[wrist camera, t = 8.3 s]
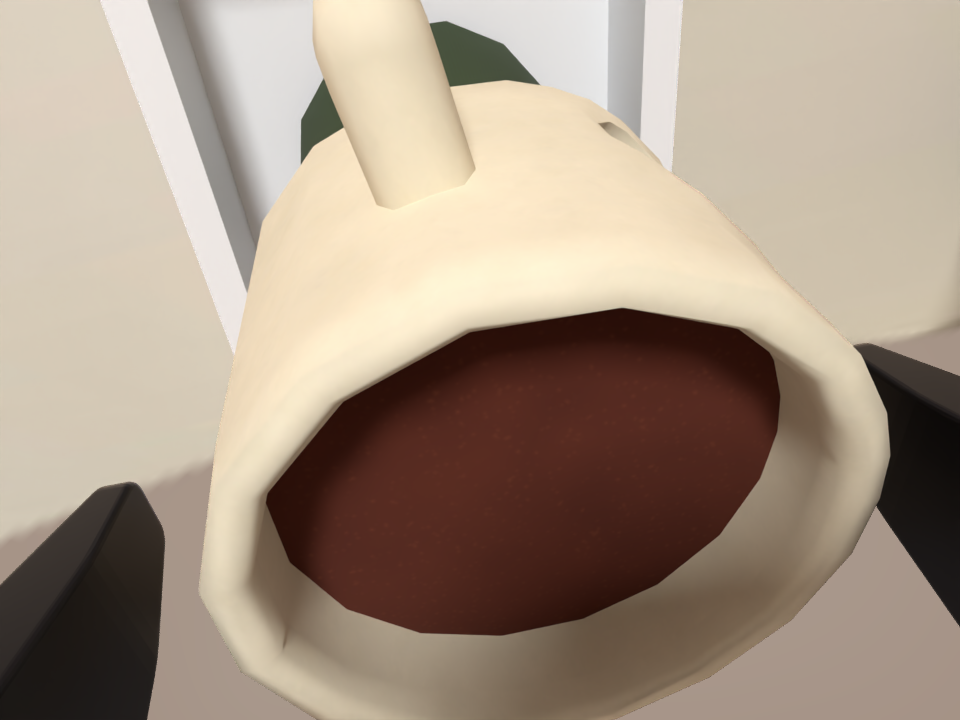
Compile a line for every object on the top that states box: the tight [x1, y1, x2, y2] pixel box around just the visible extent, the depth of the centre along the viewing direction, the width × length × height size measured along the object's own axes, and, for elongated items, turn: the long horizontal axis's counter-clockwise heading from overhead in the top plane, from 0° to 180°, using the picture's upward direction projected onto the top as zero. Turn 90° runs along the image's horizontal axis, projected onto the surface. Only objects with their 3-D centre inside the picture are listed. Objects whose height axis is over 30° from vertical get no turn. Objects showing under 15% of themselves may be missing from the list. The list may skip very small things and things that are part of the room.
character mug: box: [199, 0, 890, 720], centre depth 12 cm, size 11×7×13 cm, turn 17°
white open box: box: [100, 0, 683, 355], centre depth 17 cm, size 11×15×3 cm
